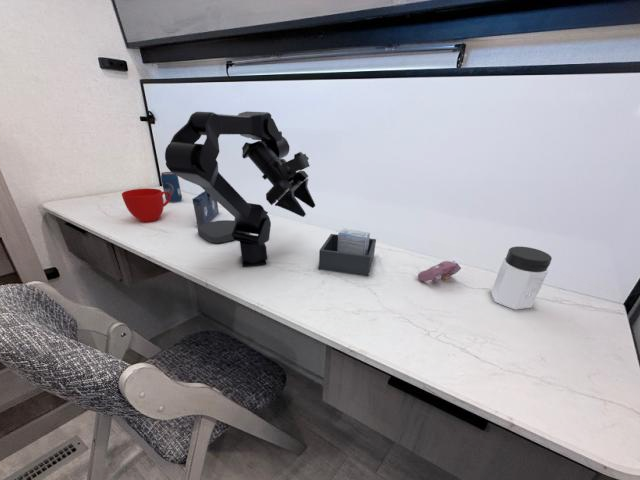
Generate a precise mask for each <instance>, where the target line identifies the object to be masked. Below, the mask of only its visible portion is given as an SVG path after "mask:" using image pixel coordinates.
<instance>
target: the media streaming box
mask: <svg viewBox="0 0 640 480" xmlns="http://www.w3.org/2000/svg"><path fill="white" fill-rule="evenodd" d="M234 227H235V220H231V219H230V220H229V219H227V220H225V219H223V220H215V221H210V222H209V223H206V224H203V225H201V226H199V227H198V226H197V233H198V236H200V237H202V238H203V239H204V240H206V241H207V242H209V243H213V244H219V243H227V242H231V241H234V240H233V237H232V232H233V229H234ZM245 234H250V235H251V233H247V232H245Z"/></svg>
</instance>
